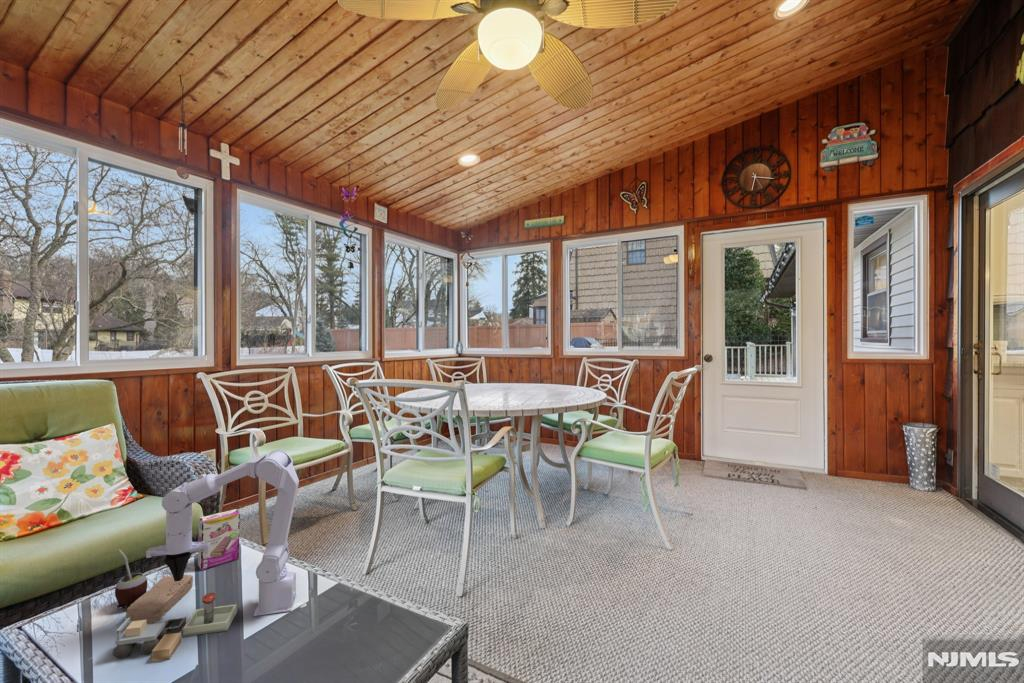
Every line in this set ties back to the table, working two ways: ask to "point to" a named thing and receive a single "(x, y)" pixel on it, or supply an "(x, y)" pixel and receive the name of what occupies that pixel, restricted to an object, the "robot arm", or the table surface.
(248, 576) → the table surface
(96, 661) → the table surface
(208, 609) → the pin
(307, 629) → the table surface
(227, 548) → the candy bar box
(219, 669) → the table surface
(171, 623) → the socket
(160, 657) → the block
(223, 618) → the tray
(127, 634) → the trolley
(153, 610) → the brick
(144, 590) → the mate gourd
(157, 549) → the robot arm
